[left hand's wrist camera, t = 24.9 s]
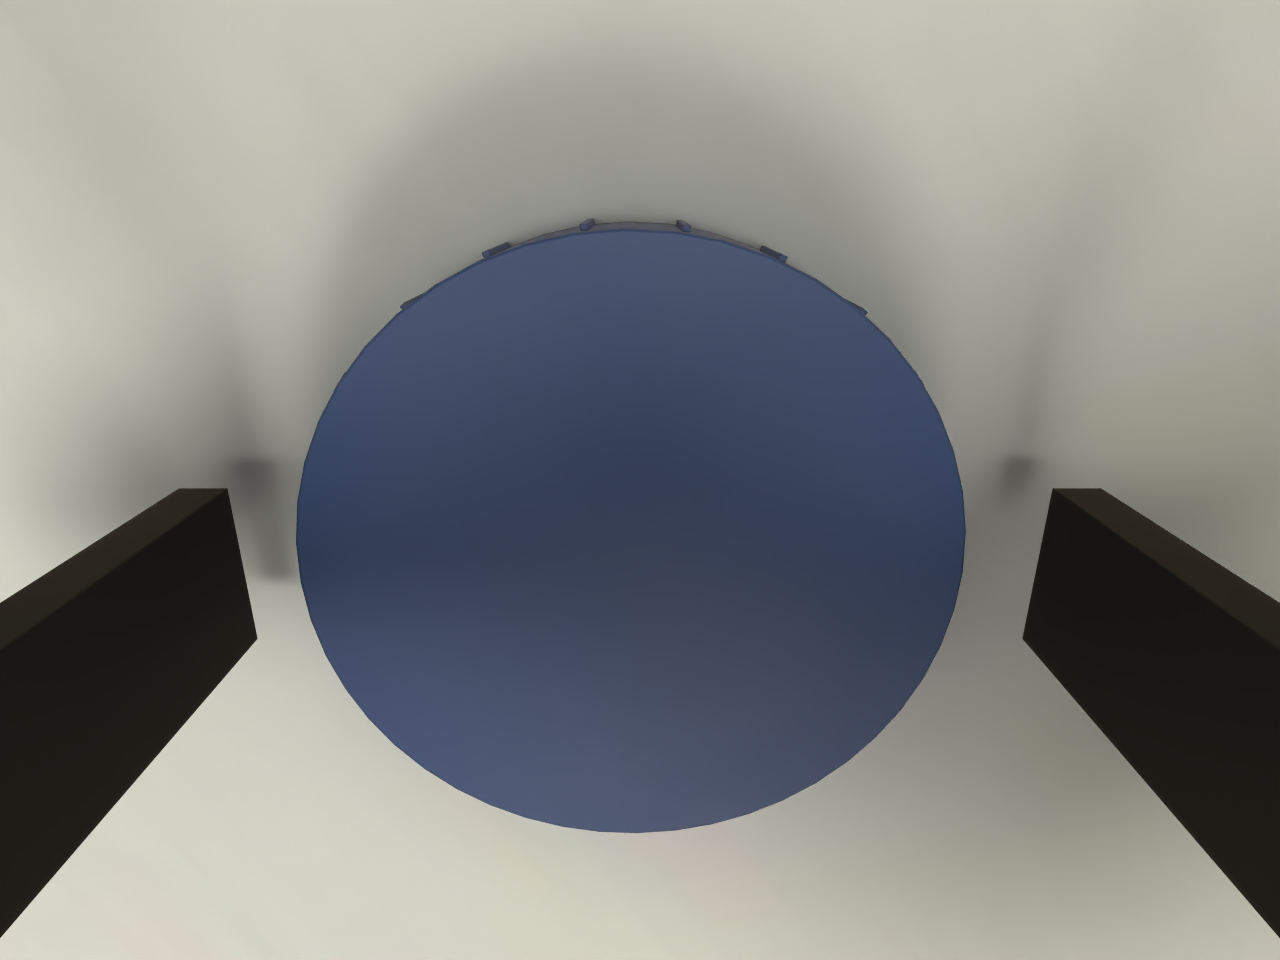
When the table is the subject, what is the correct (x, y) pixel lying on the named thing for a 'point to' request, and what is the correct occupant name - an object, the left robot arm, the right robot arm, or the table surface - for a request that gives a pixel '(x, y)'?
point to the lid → (630, 529)
